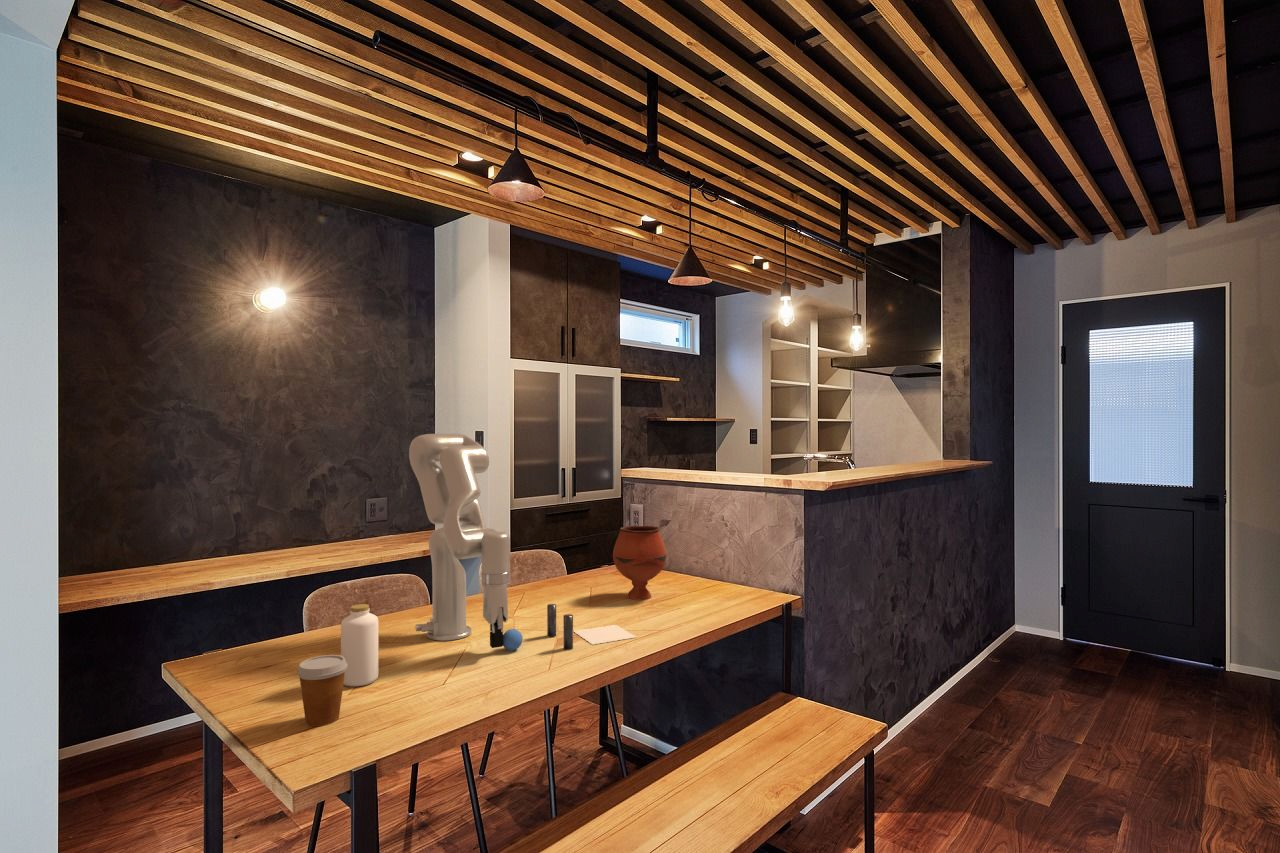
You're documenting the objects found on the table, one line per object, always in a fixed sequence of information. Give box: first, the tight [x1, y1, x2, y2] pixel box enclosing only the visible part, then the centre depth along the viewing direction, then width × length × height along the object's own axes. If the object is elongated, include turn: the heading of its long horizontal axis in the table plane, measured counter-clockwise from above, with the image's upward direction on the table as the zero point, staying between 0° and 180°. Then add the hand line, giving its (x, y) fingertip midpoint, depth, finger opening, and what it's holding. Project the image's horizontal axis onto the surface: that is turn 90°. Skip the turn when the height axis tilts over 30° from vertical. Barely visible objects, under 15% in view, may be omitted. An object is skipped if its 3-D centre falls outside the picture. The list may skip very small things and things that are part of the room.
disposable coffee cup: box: [296, 654, 348, 727], centre depth 139 cm, size 10×10×12 cm
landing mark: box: [573, 624, 638, 646], centre depth 196 cm, size 14×14×1 cm
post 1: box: [546, 603, 557, 638], centre depth 195 cm, size 3×3×9 cm
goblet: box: [612, 525, 667, 601], centre depth 240 cm, size 19×19×25 cm
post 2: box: [563, 613, 574, 651], centre depth 183 cm, size 3×3×9 cm
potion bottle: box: [340, 603, 379, 688], centre depth 160 cm, size 8×8×18 cm
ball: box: [502, 628, 524, 651], centre depth 182 cm, size 6×6×6 cm
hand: (496, 646), depth 180 cm, fingers closed
